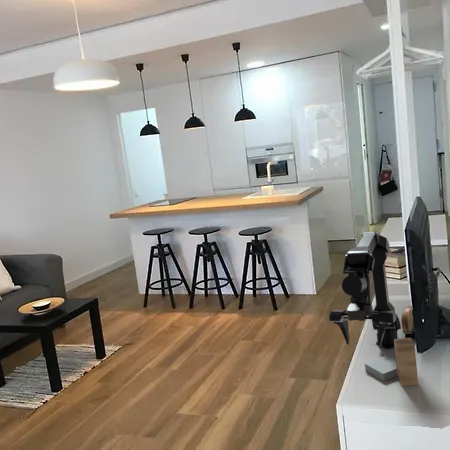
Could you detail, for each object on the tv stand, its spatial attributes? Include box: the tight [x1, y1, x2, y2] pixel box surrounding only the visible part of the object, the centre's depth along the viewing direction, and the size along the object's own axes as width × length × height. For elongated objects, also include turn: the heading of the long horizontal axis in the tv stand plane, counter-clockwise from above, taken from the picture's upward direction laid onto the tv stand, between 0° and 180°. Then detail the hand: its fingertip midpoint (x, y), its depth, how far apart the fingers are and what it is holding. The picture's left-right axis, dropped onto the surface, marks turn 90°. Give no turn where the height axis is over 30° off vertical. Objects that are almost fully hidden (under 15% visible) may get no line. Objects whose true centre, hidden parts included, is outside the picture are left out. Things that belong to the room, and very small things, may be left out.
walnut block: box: [394, 337, 419, 387], centre depth 154 cm, size 5×5×13 cm
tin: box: [400, 305, 413, 336], centre depth 190 cm, size 15×3×8 cm, turn 147°
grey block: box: [364, 355, 398, 382], centre depth 163 cm, size 9×9×2 cm
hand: (363, 345), depth 149 cm, fingers open, 9 cm apart
